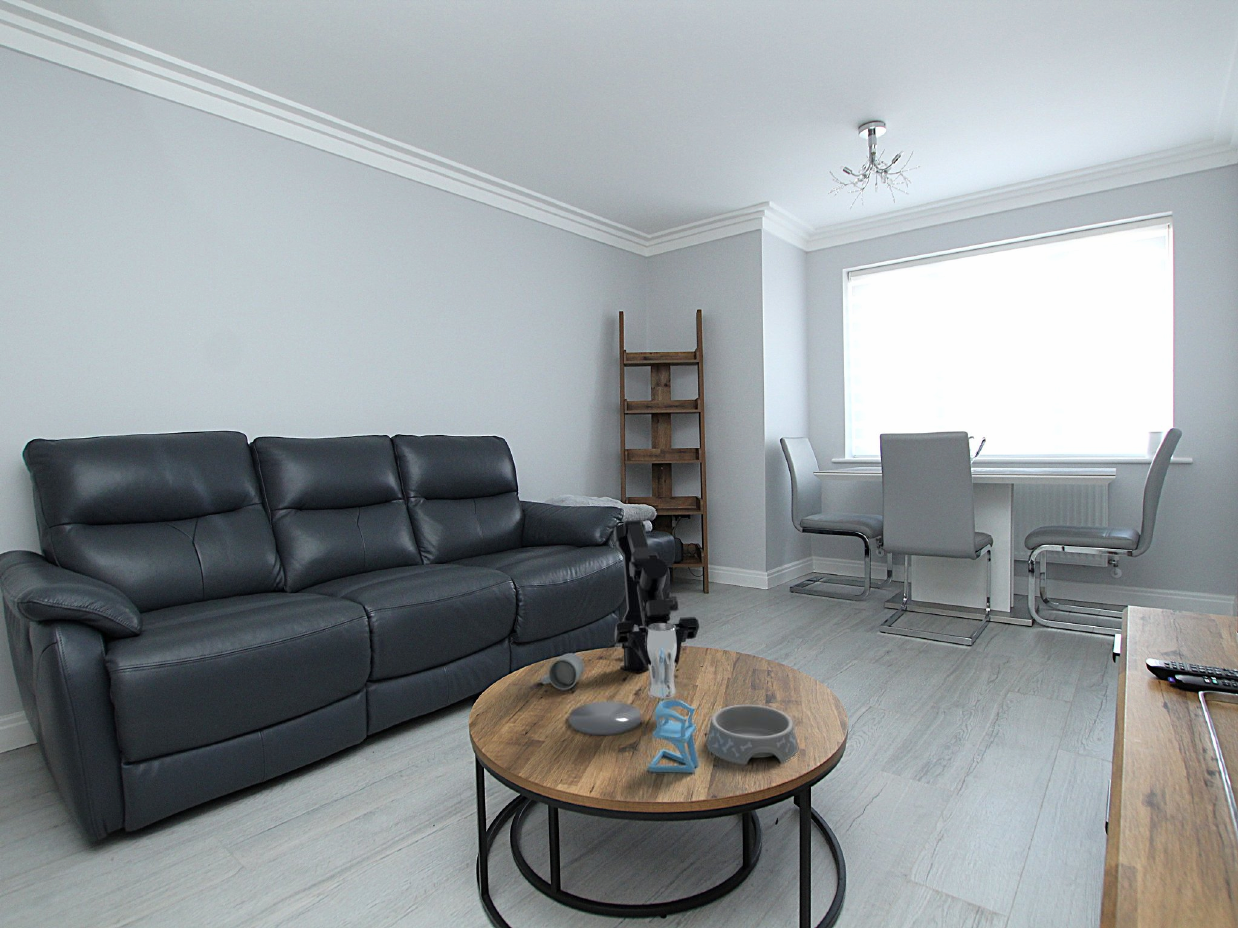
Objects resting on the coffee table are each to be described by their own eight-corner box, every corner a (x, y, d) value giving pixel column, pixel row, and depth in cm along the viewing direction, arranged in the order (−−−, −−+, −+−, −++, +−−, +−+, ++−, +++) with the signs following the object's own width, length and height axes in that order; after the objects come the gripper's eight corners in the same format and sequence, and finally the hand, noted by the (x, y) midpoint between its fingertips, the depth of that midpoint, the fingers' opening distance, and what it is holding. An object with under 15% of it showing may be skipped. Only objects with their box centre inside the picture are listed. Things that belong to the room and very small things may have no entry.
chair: (690, 779, 124) (690, 713, 124) (647, 771, 127) (646, 707, 127) (702, 760, 131) (701, 698, 131) (661, 753, 134) (660, 693, 134)
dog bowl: (811, 762, 130) (811, 734, 130) (716, 768, 128) (715, 740, 128) (783, 725, 147) (783, 700, 147) (698, 730, 145) (698, 705, 145)
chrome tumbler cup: (678, 699, 148) (677, 630, 147) (645, 699, 148) (644, 630, 148) (677, 687, 155) (676, 622, 154) (646, 687, 155) (645, 622, 155)
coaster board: (553, 721, 151) (553, 717, 151) (604, 700, 163) (604, 696, 163) (606, 742, 140) (606, 737, 140) (656, 717, 152) (656, 713, 152)
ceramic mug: (586, 679, 177) (585, 649, 177) (577, 690, 169) (576, 659, 169) (547, 678, 180) (545, 649, 179) (536, 689, 172) (535, 658, 171)
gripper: (615, 586, 153) (623, 650, 143) (696, 581, 156) (710, 644, 145) (611, 611, 161) (619, 674, 151) (688, 607, 164) (701, 668, 154)
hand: (662, 664), depth 150 cm, fingers closed on chrome tumbler cup, 6 cm apart
